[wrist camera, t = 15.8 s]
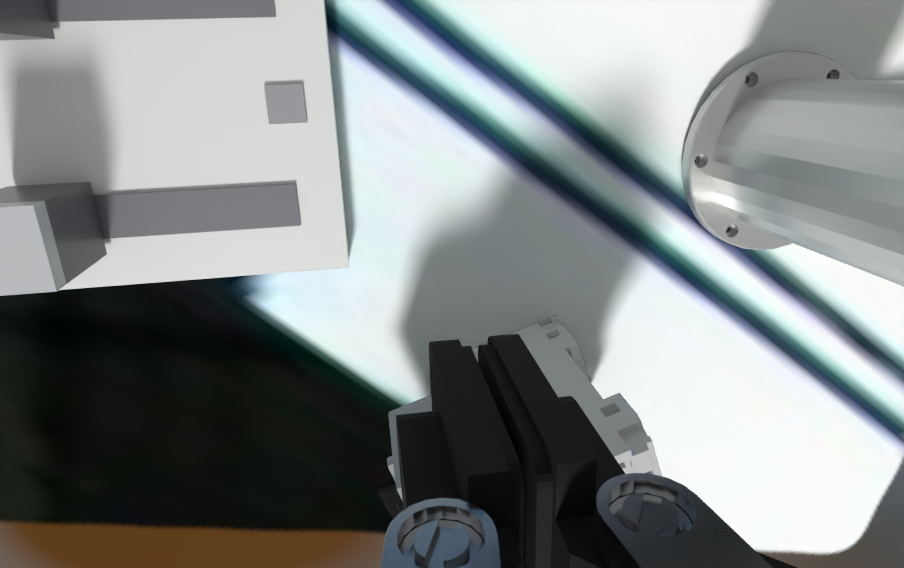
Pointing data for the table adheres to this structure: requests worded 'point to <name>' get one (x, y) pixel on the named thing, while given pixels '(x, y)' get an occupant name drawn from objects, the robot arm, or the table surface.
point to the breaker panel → (183, 134)
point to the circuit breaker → (566, 379)
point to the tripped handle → (25, 20)
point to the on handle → (47, 236)
